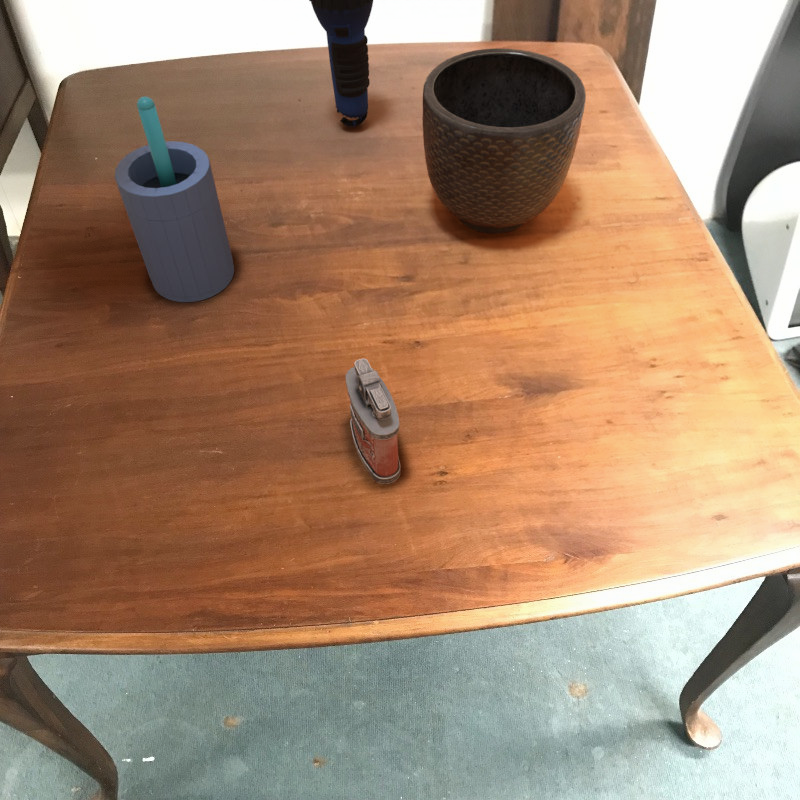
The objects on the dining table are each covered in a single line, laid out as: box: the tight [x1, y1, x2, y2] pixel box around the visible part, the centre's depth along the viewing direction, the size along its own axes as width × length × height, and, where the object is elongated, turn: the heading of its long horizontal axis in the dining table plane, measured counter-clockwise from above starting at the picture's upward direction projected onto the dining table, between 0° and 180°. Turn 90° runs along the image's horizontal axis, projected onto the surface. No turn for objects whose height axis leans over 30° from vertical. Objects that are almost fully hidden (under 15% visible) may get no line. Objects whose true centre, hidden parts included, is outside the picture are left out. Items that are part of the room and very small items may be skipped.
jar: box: [114, 140, 235, 303], centre depth 82 cm, size 9×9×14 cm
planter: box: [422, 47, 587, 235], centre depth 88 cm, size 17×17×16 cm
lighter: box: [345, 358, 402, 485], centre depth 68 cm, size 8×3×10 cm, turn 22°
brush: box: [136, 96, 177, 188], centre depth 79 cm, size 5×5×21 cm
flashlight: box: [308, 0, 374, 128], centre depth 98 cm, size 8×8×20 cm
